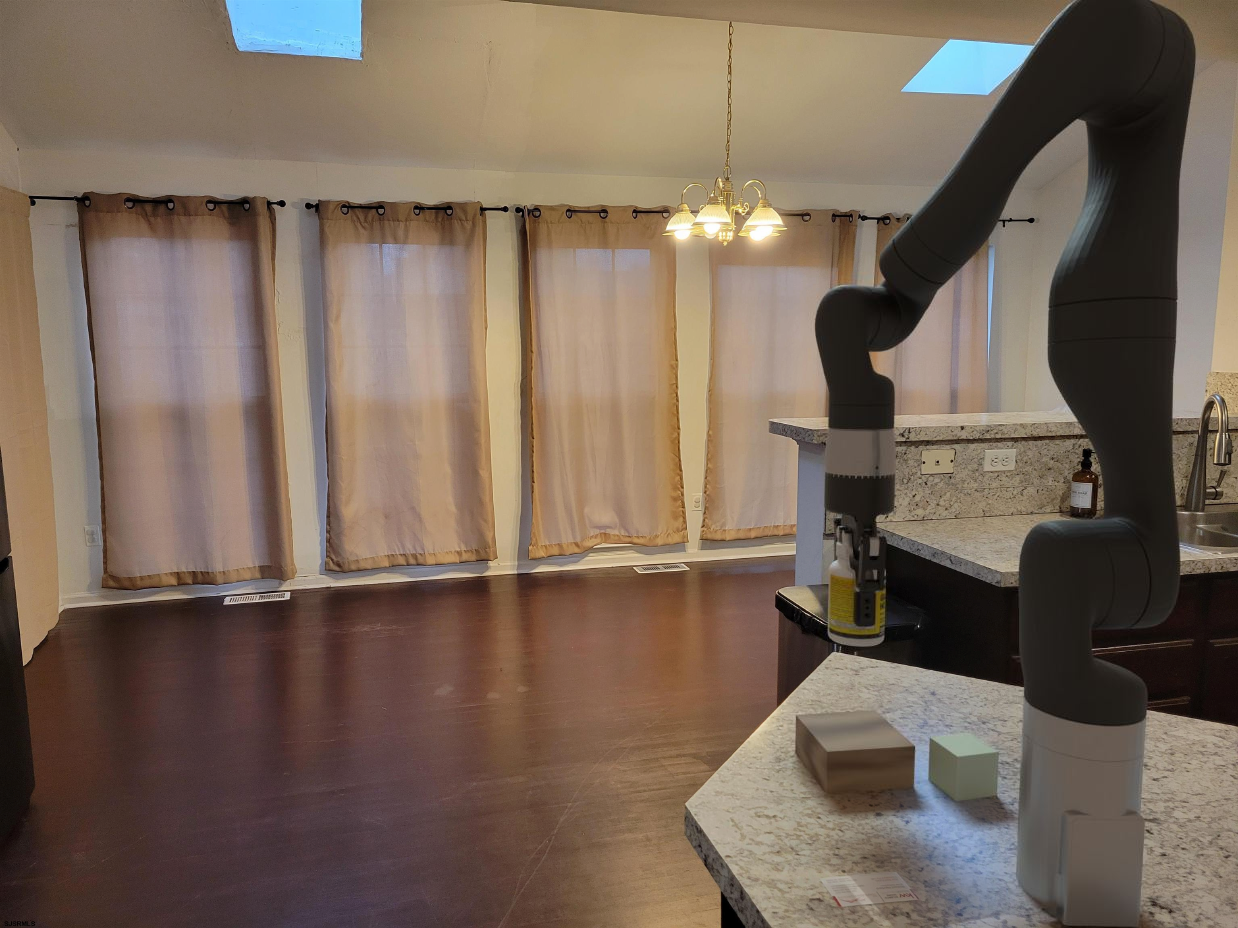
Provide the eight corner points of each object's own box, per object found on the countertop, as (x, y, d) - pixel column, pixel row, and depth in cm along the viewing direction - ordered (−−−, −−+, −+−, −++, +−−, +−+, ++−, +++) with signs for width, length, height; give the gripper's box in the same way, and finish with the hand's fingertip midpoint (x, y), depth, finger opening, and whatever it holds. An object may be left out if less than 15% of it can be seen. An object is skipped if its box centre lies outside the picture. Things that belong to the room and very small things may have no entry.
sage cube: (997, 796, 89) (998, 751, 88) (956, 801, 88) (957, 756, 87) (967, 774, 94) (969, 732, 93) (928, 779, 93) (929, 736, 92)
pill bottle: (891, 648, 90) (894, 548, 89) (834, 648, 91) (836, 548, 89) (875, 631, 97) (877, 537, 95) (822, 630, 97) (824, 537, 96)
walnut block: (913, 789, 91) (915, 745, 90) (826, 795, 90) (827, 751, 89) (874, 749, 101) (875, 710, 100) (795, 754, 99) (795, 714, 99)
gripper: (914, 476, 84) (909, 636, 86) (876, 462, 99) (872, 600, 100) (840, 476, 85) (837, 636, 86) (812, 462, 99) (810, 599, 101)
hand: (856, 616), depth 93 cm, fingers closed on pill bottle, 6 cm apart
